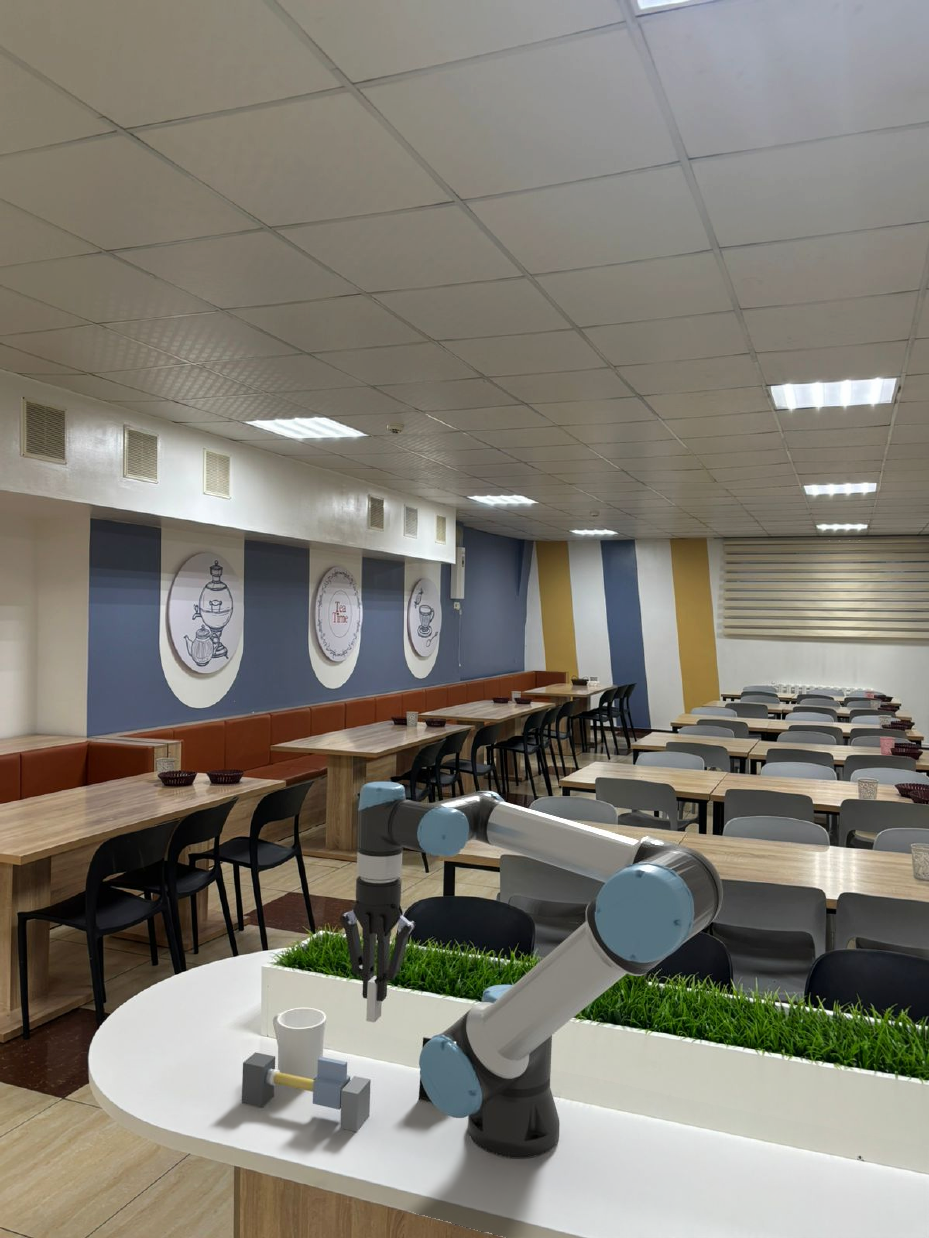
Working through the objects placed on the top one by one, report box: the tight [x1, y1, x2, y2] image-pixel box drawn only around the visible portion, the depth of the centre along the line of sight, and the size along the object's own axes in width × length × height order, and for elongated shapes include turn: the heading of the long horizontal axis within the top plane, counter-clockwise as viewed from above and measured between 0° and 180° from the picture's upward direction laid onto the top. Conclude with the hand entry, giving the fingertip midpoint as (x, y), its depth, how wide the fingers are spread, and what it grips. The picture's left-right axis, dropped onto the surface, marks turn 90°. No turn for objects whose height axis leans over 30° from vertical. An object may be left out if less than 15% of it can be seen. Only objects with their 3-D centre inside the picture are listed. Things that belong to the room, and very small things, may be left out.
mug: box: [272, 1007, 327, 1080], centre depth 165 cm, size 11×9×10 cm
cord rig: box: [241, 1052, 371, 1133], centre depth 152 cm, size 22×5×7 cm, turn 72°
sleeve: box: [312, 1056, 351, 1111], centre depth 150 cm, size 5×4×7 cm
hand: (373, 1018), depth 148 cm, fingers closed
